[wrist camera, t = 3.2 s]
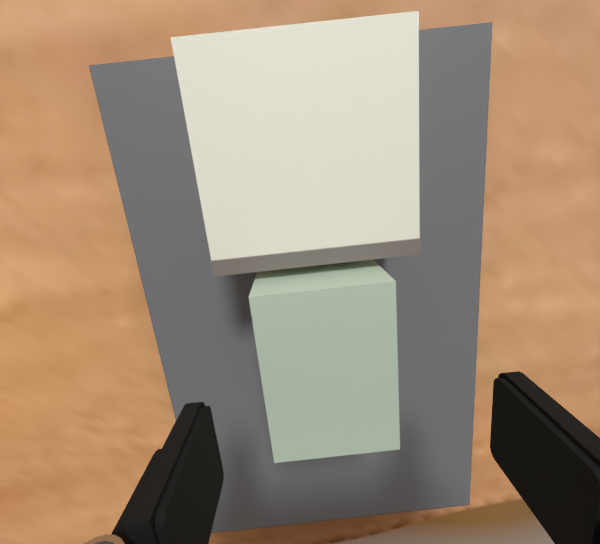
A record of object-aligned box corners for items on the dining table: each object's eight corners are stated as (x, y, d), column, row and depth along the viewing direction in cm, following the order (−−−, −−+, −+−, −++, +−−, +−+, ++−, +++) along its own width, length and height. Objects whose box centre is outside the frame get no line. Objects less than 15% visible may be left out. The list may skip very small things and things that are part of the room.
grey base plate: (106, 75, 16) (0, 15, 10) (474, 36, 16) (581, -47, 10) (209, 512, 24) (182, 623, 18) (458, 485, 24) (514, 586, 18)
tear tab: (262, 256, 17) (248, 297, 11) (359, 246, 17) (396, 281, 11) (278, 375, 19) (274, 462, 13) (366, 366, 19) (400, 449, 13)
